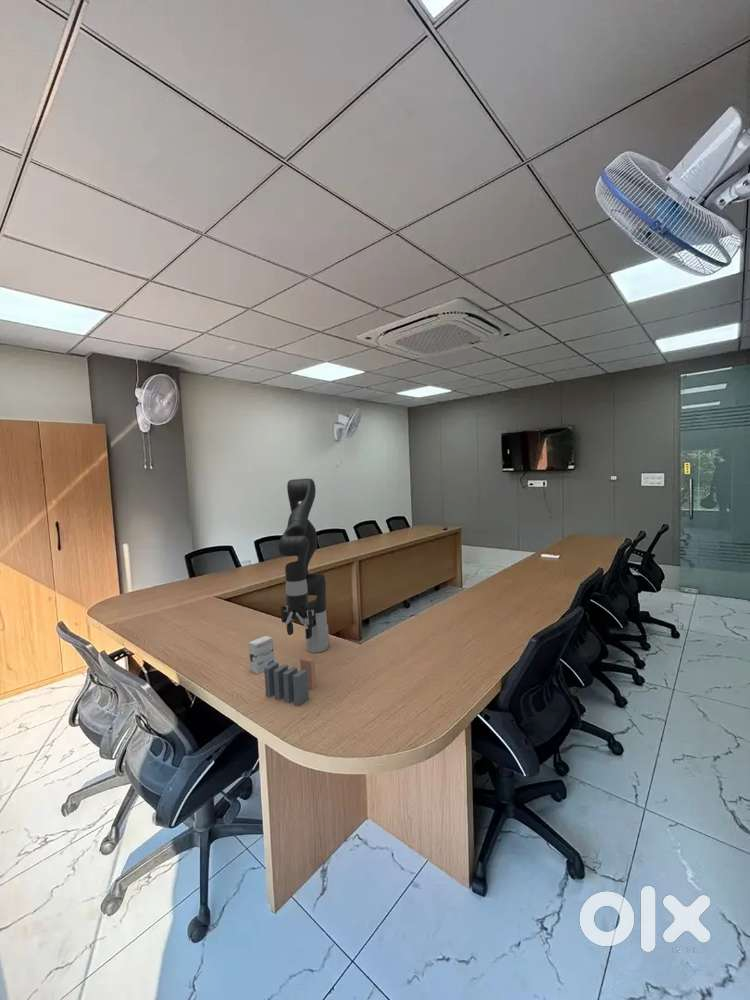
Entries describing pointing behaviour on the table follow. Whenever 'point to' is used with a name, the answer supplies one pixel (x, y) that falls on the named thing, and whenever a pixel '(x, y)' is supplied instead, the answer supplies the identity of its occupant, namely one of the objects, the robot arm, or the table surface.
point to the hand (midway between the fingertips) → (299, 636)
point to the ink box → (261, 654)
